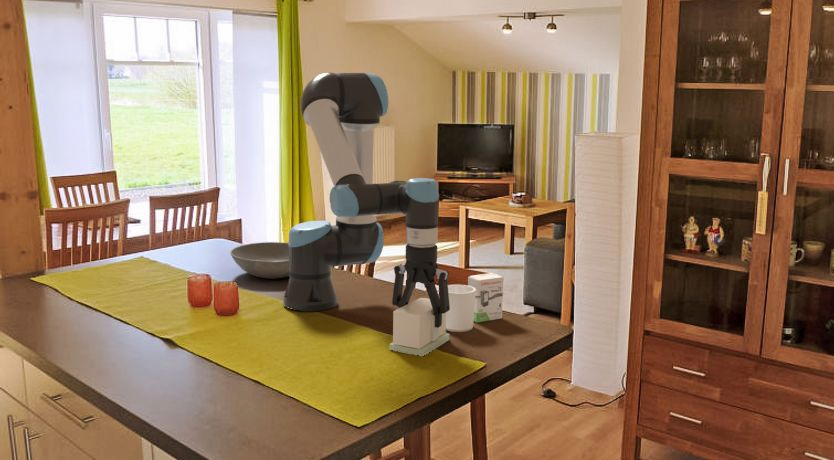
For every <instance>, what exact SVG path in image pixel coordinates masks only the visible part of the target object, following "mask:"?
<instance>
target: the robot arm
mask: <svg viewBox="0 0 834 460" xmlns="http://www.w3.org/2000/svg"><path fill="white" fill-rule="evenodd" d="M388 109H389V95H388V89H387V87H386V84H385V82H384V80H383V78H382V77H381V76H379V75H378V74H377V73H368V72H367V73H366V72H323V73H321V74H318V75H316V76H315V77H312V79H311V80H310V81H309V82H308V83H307V84H306V85H305V87H304V89H303V92H302V94H301V98H300V112H301V116H302V118H303V122H305V124H306V125H307V126H308V127H310V129H311V130H312V132H313V135H314V138H315V140H316V143H317V146H318V148H319V151H320V153H321V156H322V159H323V161H324V164H325V167H326V169H327V172H328V174H329V177H330V179H331V182H332V184H333V187H332V188H331V189H330V191H329V192H330V193H329V204H330V209H331V212H332V214H333V215H335V216H336V218H335V225H332V224H331V222H330V221H328V220H311V221H309V220H308V221H305V222H301V223H297V224H295V225H293V226H292V227H291V228H290V229H289V231H288V232H289V233H288V242H287V243H288V246H289V279H288V282H287V284H286V289H285V292H284V295H283V306H284V305H285V306H286V307H289V308H292V309H295V310H301V311H300V312H320V311H326V310H331V309H333V308H335V307H336V306H337V305H338V295H337V292H336V288H335V286H334V283H333V280H332V271H331V270H332V267H341V266H342V267H343V266H352V265H365V264H370V263H371V264H372V263H374V262H376V261H377V260H378V259H379V258H380V256H381V254H382V252H383V248H384V243H385V242H384V240H385V234H384V229H383V227H382V225H381V224H380V222H377V221H378V220H377V219H378V218H377V217H376V216H375V215H377V216H379V215H391V214H392V215H394V214H395V215H397V214H404V215H405V242H406V243H407V244H406V245H405V263H404V264H401V263H399V264H398V265H395V266H394V267H393V271H394V283H393V290H392V291H393V292H392V301H391V304H392V306H396V307H397V308H398V309H399V308H401V307H403V306H405V305H407V304H409V303H410V300H411V297H412V295H413V292H414V289H415V286H416V284H417V283H419V284H423V285H424V286H423V287H424V288H425V289H426V292H427V295H428V299H430V302H431V305H432V308H433V311H434V313H433V314H431V338H430V341H435V340H436V339H438V328H439V327H440V326H441V325H442V313H443V314H444V313H446V312H447V311H449V310H450V305H449V294H448V285H449V284H448V283H449V282H448V278H449V275H450V272H449V270H442V269H439V267H438V264H437V262H438V245H437V244H438V242H439V241H438V237H439V236H438V232H439V231H438V225H439V202H440V201H439V199H440V194H439V183H438V181H437V180H436V179H434V178H427V177H415V178H410V179H408V180H407V182H406V180H392V181H391V182H385V183H373V180H374V179H373V178H374V173H373V172H374V171H373V170H374V142H375V141H374V140H375V138H374V137H375V129H376V128H377V127H378V126H379V125H380V124H381V122H380V120H381V117H383V116H385V115H386V114H387V113H388ZM405 273H406V274H407V275H408V277H407V280H406V285H405V286H404V283H405V282H404V281H405ZM436 276H437V277H436ZM435 277H436V278H437V280H438V281H437V283H438V284H437V285H438V288H437V287H436V280H435ZM404 287H405V288H404ZM403 289H404V290H403ZM437 289H439V293H437ZM286 307H285V308H286ZM295 310H294V311H295Z"/></svg>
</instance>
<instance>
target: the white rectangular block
mask: <svg viewBox="0 0 834 460" xmlns="http://www.w3.org/2000/svg"><path fill="white" fill-rule="evenodd" d="M433 313H434V311H433V308H432V305H431V302H430V299H429V297H428V298H427V297H426V298H425V297H419V298H418V299H415V300H413V301H411V302H409V303H408V304H407V305H405V306H403V307H401V308H399V307H398V308H397V309H396V310H394V311H393V312H392V314H393V315H392V318H393V319H392V321H393V324H392V342H393V344H396V345H401V346H406V347H412V348H417V349H420V348H422V347H423V346H425V345H426V344H428V343H430V342H431V341H430V338H431V314H433ZM444 333H447V330H446V313H444V314H443V313H442V325H441V326H440V327H439V328H438V337H439V336H441V335H443V334H444Z"/></svg>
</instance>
